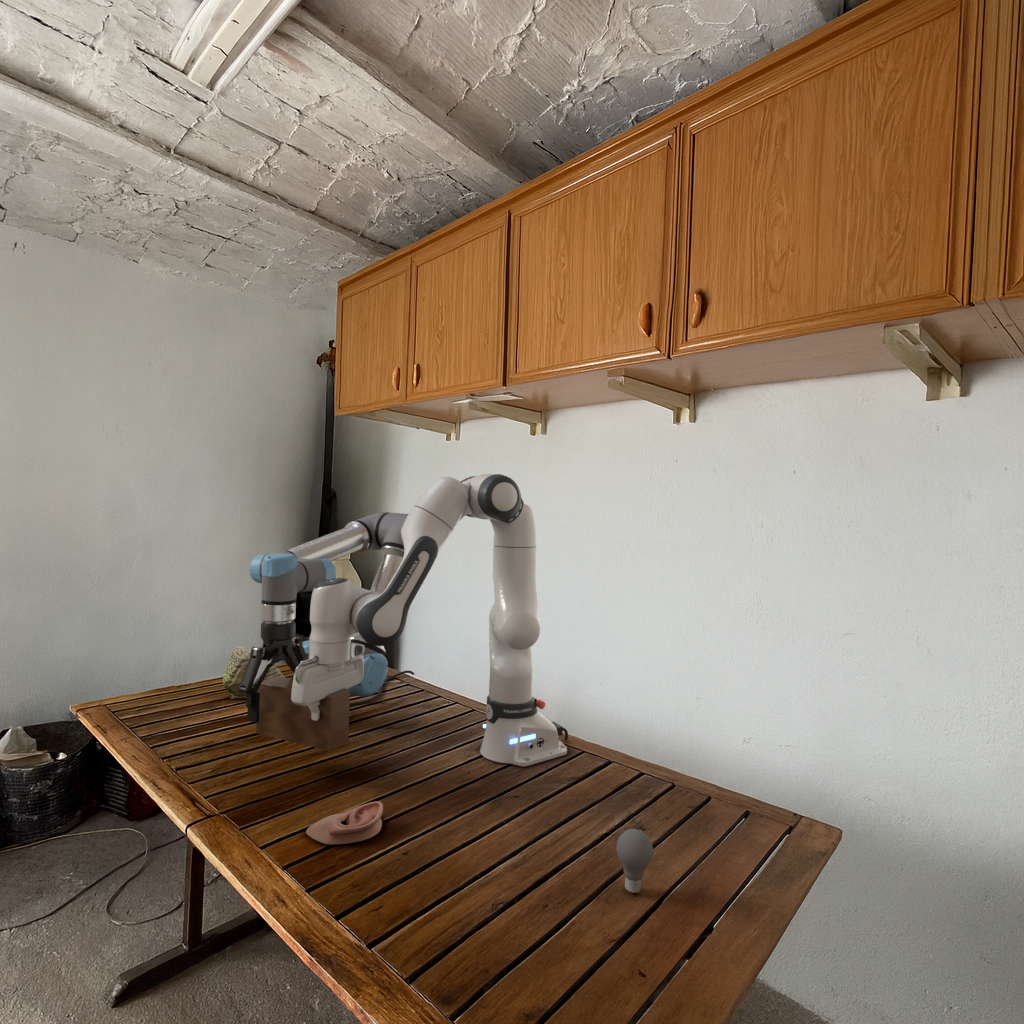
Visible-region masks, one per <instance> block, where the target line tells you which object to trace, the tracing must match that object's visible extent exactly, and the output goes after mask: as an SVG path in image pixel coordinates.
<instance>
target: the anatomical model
mask: <svg viewBox="0 0 1024 1024" xmlns="http://www.w3.org/2000/svg"><path fill="white" fill-rule="evenodd" d="M383 813H384V804H383V803H382V802H381V801H377V800H376V801H371V802H367V803H364V804H361V805H358V806H355V807H353V808H351V809H349V810H346V811H344V812H341V813H336V814H331V815H328V816H326V817H323V818H321V819H319V820H318V821H315V823H313V824H311V825H310V826H309V827H307V829H306V831H305V833H306V835H307V836H308V837H310V838H311V839H313V840H315V841H317V842H318V843H321V844H323V845H333V846H335V845H344V844H345V845H346V844H352V843H357V842H363V841H365V840H368V839H371V838H373V837H374V836H376V835H378V834H379V833H380V832H381V829H382V827H383V821H382V815H383Z"/></svg>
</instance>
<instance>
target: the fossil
mask: <svg viewBox="0 0 1024 1024" xmlns="http://www.w3.org/2000/svg"><path fill="white" fill-rule="evenodd" d="M250 655H251V647H247V646H246V647H245V646H238V647H237V648H236V649H235V650H233V651H232V653H231V656H230V657H229V659H228V660H227V663H226V666H225V668H224V671H223V675H222V676H223V677H222V685H223V687H224V688H225V690H226V691H228V693H229V698H230V699H246V693H244V692H239V691H238V688H239V686H240V683H241V680H242V678H243V675H244V672H245V670H246V667H247V664H248V662H249V659H250ZM266 661H267V659H266ZM276 676H280V677H285V676H284V674H283V673H282V672H281V669H279V668H278V667H277V665H276V663H274V665H273V666H272V667H270V669H269V671H268V673H267V674H266V676H265V678H264V680H267V679H270V678H273V677H276ZM264 680H263V681H264ZM245 687H246V686H245ZM253 687H254V686H253ZM253 687H252V688H253Z"/></svg>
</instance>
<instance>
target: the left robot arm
mask: <svg viewBox="0 0 1024 1024" xmlns="http://www.w3.org/2000/svg"><path fill="white" fill-rule="evenodd" d="M408 514H409V513H400V512H389V511H388V512H387V511H383V512H376V513H373V514H370V515H366V516H363V517H361V518H358V519H355V520H352V521H349V522H348V523H346V525H345V526H344V528H343V527H342V528H341V529H339V530H335V531H334V532H330V533H328V534H324V535H322V536H320V537H317V538H315V539H313V540H310V541H307V542H304V543H301V544H299V545H296V546H294V547H290V548H289V549H286V550H283V551H280V552H278V553H265V554H264V553H263V554H262V553H261V554H258V555H256V556H255V557H254V558H253V559H252V560H251V562H250V564H249V576H250V577H251V579H252V580H253V581H254V582H255V583H256V584H257V583H258V584H261V606H260V607H261V608H260V620H261V621H262V622H261V623H260V639H261V640H262V646H252V647H250V649H251V655H250V659H249V662H248V664H247V667H246V670H245V672H244V675H243V678H242V680H241V683H240V686H239V688H238V691H239V692H244V693H246V698H245V707H246V708H247V715H246V716H247V718H246V721H247V722H250V723H255V724H256V723H258V722H259V708H260V693H258V692H257V691H258V689H259V687H260V685H261V683H262V682H263V680H264V678H265V676H266V674H267V673H268V671H269V669H270V667H272V666H273V665H274V663H275V664H277V663H280V662H281V661H282V662H285V664H287V666H288V667H289V669H290V670H291V671H292V672H293V675H292V676H291V679H293V678H294V674H295V670H296V668H297V667H298V665H299V664H300V662H301V661H303V660H307V659H309V639H308V640H304V639H303V637H302V636H296V622H295V621H294V620H296V613H297V612H296V608H297V594H298V593H305V592H310V591H311V592H313V589H314V587H315V586H316V585H317V584H318V583H320V582H322V581H324V580H328V579H333V578H337V569H336V566H335V564H334V563H333V562H334V561H337V560H339V559H341V558H343V557H346V556H348V555H351V554H353V553H357V554H361V553H365V552H366V551H367V552H368V551H380V553H381V555H382V559H381V561H380V563H379V567H378V569H377V571H376V574H375V576H374V579H373V582H372V584H371V588H370V589H369V591H373V592H376V593H379V594H382V593H383V592H384V591H385V589H386V588H387V586H388V584H389V583H390V581H391V579H392V577H393V576H394V574H395V572H396V571H397V569H398V567H399V566H400V564H401V562H402V560H403V557H404V544H403V541H402V537H401V529H402V527H403V524H404V522H405V520H406V518H407V516H408ZM303 640H304V641H303ZM351 643H357V644H362V645H364V647H365V651H364V653H363V654H362V655H363V658H364V676H363V679H362V682H361V683H360V684H358V685H355V686H353V687H350V688H349V690H350V697H361V698H366V699H364V700H359V701H353V702H349V707H350V706H357V705H362V704H366V703H369V702H371V701H374V700H377V699H378V698H379V697H380V696H381V695H382V693H383V691H384V684H385V683H386V682H388V681H390V680H392V679H395V678H397V677H399V676H402V675H405V674H411V675H412V676H414V675H416V674H415V672H414V671H412V670H403V671H400V672H398V673H395V674H393V675H391V676H388V672H389V667H388V666H389V663H388V659H387V658H386V656H385V655H386V652H387V651H386V648H385V646H374V645H371V644H369V643H367V642H366V641H365V640H364V639H363V638H362V637H361V635H360V634H359V633H353V634H352V635H351ZM266 659H267V661H266ZM387 676H388V677H387ZM245 686H246V687H245ZM253 686H254V687H253ZM252 687H253V688H252ZM375 693H377V694H376V695H374V696H373V697H370V696H372V695H373V694H375ZM367 697H370V698H368V699H367Z"/></svg>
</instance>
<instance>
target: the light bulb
mask: <svg viewBox="0 0 1024 1024" xmlns="http://www.w3.org/2000/svg"><path fill="white" fill-rule="evenodd" d="M615 849H616V854H617V857H618V859H619V861H620V863H621V865H622V867H623V873H624V874H623V875H624V876H625V878H624V888H625V890H627V891H628V892H630V893H634V894H635V893H639V892H640V891H641V889H642V887H641V886H642V879H643V877H644V875H645V871H646V868H647V867H648V866H649V864H650V863H651V861H652V859H653V855H654V847H653V843H652V841H651V838H649V836H648V835H647V834H646V833H645V832H643V831H642V830H641V829H636V828H629V829H627V830H625V831H623V832H622V833H621V834H620V835H619V837H618V839H617V841H616V847H615Z"/></svg>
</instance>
